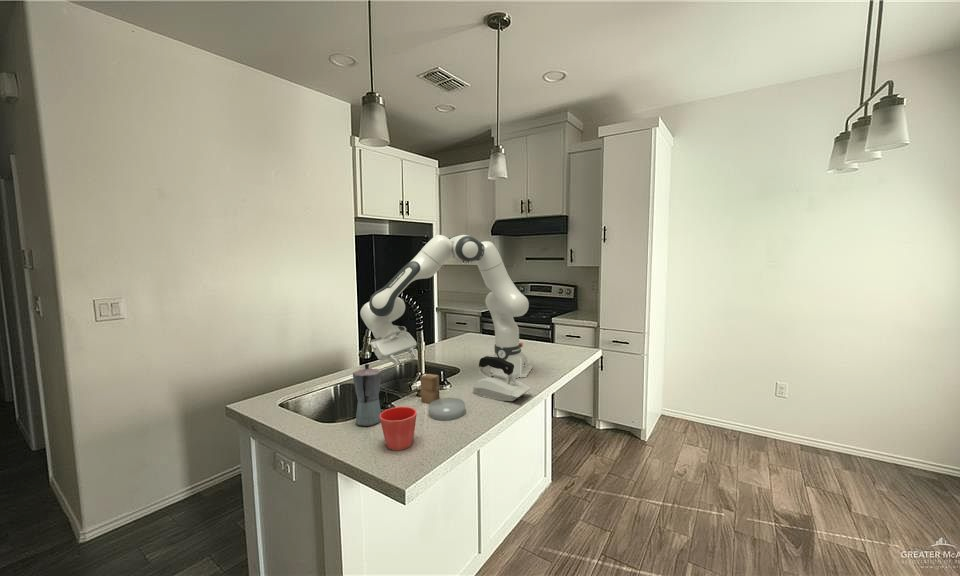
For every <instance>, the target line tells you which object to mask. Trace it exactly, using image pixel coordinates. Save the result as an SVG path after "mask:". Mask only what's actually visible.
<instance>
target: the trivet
mask: <svg viewBox="0 0 960 576" xmlns="http://www.w3.org/2000/svg"><path fill="white" fill-rule="evenodd" d="M465 414H466V403H465V401H464V400H462V399H461V398H455V397H444V398H440V399H438V400H435V401H433V402H431V403H430V404H428V416H429V417H430V419H432V420H435V421H444V422H445V421H446V422H449V421H453V420H457V419H460V418H462V417H464V415H465Z"/></svg>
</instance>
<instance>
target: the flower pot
mask: <svg viewBox="0 0 960 576" xmlns="http://www.w3.org/2000/svg"><path fill="white" fill-rule="evenodd" d="M417 413H418V411H417V410H416V409H415V408H413V407H410V406H409V407H408V406H396V407H391V408H388V409H385V410H384V411H381V414H380V425H381V428H382V433H383V436H384V437H383V438H384V441H385V445H386V448H387V449H389V450H391V449H392V451H402V450H405V449H407V448H410V447H411V445H413V443H414V442H413V441H414V437H415V430H416V422H417Z"/></svg>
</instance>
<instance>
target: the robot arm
mask: <svg viewBox="0 0 960 576" xmlns="http://www.w3.org/2000/svg"><path fill="white" fill-rule="evenodd" d="M451 258H455V259H456V260H459V261H463V262H467V263H468V262H475V263H476V264H477V267H478V270H479V272H480V274H481V277H482V279H483V282H484V284H485V286H486V288H488V289H489V291H491V292H489V293H488V294H486V297H485V301H484V302H485V306H486V308H487V309H488V311H489V313H490V316H491V319H492V323H493V327H494V339H495V344H494V347H493V349H494V354H493V355H492V357H498V358H502V359H504V360H506V361H508V362H510V363H512V364H514V369H513V373H512V376H513V375H514V374H515V373H518V374H520V375H518V377H517V378H516V379H519V377H520V378H527V377H528V376H529V374H530V373H531V371H532V370H533V366H532V365H530V364H528V357H527V355H526V354H525V353H523V352H522V348H523V347H524V344H523V342H520V328H519V326H518V325H517V323H516V321H515V319H514V318H516V317H517V318H518V317H522V316H524V315H525V314H527V312H528V310H529V307H530V306H529V305H530V302H529V299H528V298H527V296H525V295H524V294H523V293H522V292H520V290H519V289H518V288H517V286H516V285H515V283H514V282H513V281H512V279H511V277H510V275H509V274H508V273H509V272H508V271H507V269H506V266H505V264H504V261H503V259H502V257H501V255H500V253H499V251H498V248H497V247H496V246H495V244H494V243H493V242H492V241H489V240H485V241H484V240H483V241H481V242H480V241H479V240H478V238H476V237H474V236H471V235H469V234H468V235H467V234H456V235H454V236H451V237H449V238H448V237H447V236H446V235H443V234H437V235H434V236H433V237H432V238H431V239H430V240H429V241H428V242H427V243H425V245H424V246H422V248H421V250H420V251H418V253H417V254H416V255H415V256H414V257H413V258H412V259H411V260H410V261H409V262H407V263H406V264H405V265H404V266H403V267H402V268H401V269H399V271H398V272H397V273H396V274H395V275H394V276H393V277H392V278H391V279H390V280H389V281H388V282H387V283H386V284H385V285H384V286H383V287H382V288H380V289H378V290H377V291H375V292H374V293H372V294H371V296H370V299H369V301H368V302H366V303H365V304H363V305H362V307H361V309H360V315H359V316H360V318H361V320H362V321H363V323H364V324H365V326H366V327H367V329H369V331H371V332H372V335H373V337H374V339H373V338H372V339H371V340H370V343H369V345H370V346H371V348H372V350H373V353H374V354H375V356H376V357H377V359H378V360H380V361H385V360H388V362H391V363H392V364H394V366H395V367H398V366H400V364H401V361H400V359H397V358H395V357H396V356H398V355H401V354H405V353H408V354H409V355H410V356H409V358H410V359H411V360H415V359H416V358H417V355H416V354H415V351H414V349H415V348H416V347H417V341H416V339H415V338H414V337H413V336H412V335H411V333H410V332H408V331H407V328H406V326H403V325H401V326H400V325H395V324H393V322H395V321H396V320H398V319H399V318H401V317H402V316H403V315H404V314H405V311H406V302H405V301H404V299H402V298H401V297H399V295H400V294H401V293H402V292H403V291H404V290H405V289H407V287H408V286H410V284H411V283H412V282H414V281H416V280H423V279H430V278H432V277H433V276H435V274H437V273H438V272H439V271H440V269H441V268H442V267H443V265H444V264H445V262H446V261H447V260H449V259H451ZM531 369H532V370H531ZM529 372H530V373H529ZM489 373H491V374H495V373H498V374H502V375H505V376H508V375H507V374H505V373H504V372H503V370H502V369H497V368H493V367H491V368H490V369H489ZM515 375H516V374H515ZM527 375H528V376H527ZM514 377H515V376H514Z"/></svg>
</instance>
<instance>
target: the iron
mask: <svg viewBox="0 0 960 576" xmlns="http://www.w3.org/2000/svg"><path fill="white" fill-rule="evenodd" d="M487 366H489V367H491V368H492V367H493V368H497V369H502V370H503V372H504V373H505V374H507V375H508V376H505V375H502V374H498V373H495V374H492V373H491V374H488V373H487V372H485V370H484V368H486V367H487ZM513 369H514V364H512V363H510V362H508V361H506V360H504V359H502V358H498V357H493V356H488V355H487V356H486V355H485V356H483V357H481V358H480V359H479V362H478V367H477V371H478V372H479V374H480V375H481V376H482V377H483V378H481V379H479V380H476V382H474V384H473V386H472V389H473V390H472V391H473V393H474V394H475V393H476V394H475V395H477V394H478V395H477V396H480V397H483V396H485V397H484V398H488V397H490V399H492V398H493V400H496V399H498V400H497V401H504V402H513V401H515V400H517V399H519V397H521V396H523V395H524V394H526V393H527V392H528V391H530V390H531V389H532V388H533V387H532V386H528V385H527V384H526V383H524V382H521V381H519V380H518V378H517V377H518V375H520V374H518V373H515V374H516V375H515V374H514V375H513V376H512V373H513ZM514 376H515V377H514Z"/></svg>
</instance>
